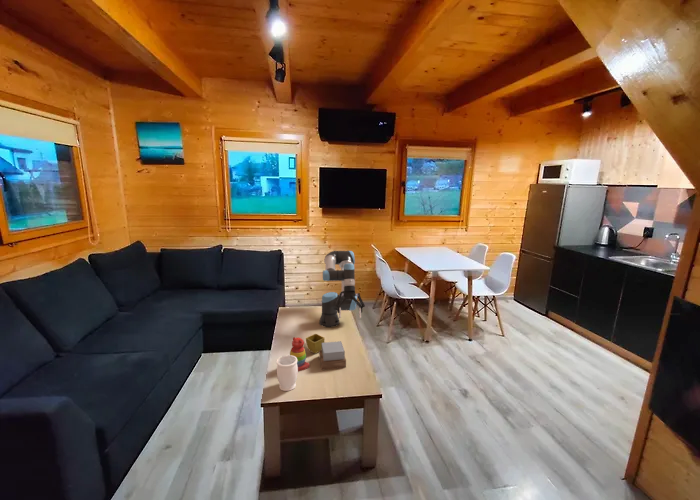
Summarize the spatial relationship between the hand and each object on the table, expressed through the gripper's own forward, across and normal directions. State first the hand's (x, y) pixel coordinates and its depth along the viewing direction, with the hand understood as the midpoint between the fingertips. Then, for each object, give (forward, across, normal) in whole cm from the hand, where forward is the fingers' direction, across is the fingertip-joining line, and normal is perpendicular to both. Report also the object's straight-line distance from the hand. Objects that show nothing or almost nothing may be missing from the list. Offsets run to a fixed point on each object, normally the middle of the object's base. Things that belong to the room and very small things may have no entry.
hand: (350, 318), depth 206 cm
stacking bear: (+29, -34, -10) cm, 45 cm away
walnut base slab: (+27, -14, -10) cm, 32 cm away
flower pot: (+20, -22, +3) cm, 30 cm away
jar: (+37, -40, -25) cm, 60 cm away
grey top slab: (+22, -14, -12) cm, 29 cm away
